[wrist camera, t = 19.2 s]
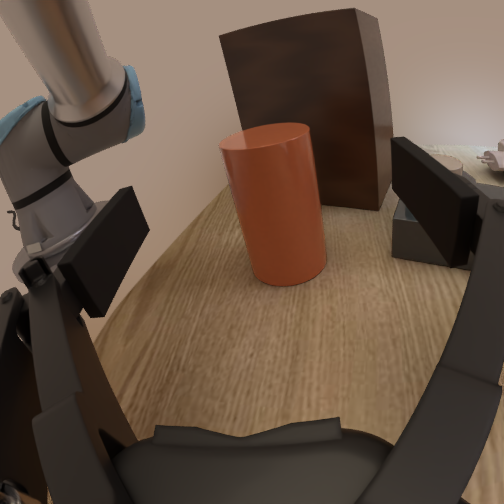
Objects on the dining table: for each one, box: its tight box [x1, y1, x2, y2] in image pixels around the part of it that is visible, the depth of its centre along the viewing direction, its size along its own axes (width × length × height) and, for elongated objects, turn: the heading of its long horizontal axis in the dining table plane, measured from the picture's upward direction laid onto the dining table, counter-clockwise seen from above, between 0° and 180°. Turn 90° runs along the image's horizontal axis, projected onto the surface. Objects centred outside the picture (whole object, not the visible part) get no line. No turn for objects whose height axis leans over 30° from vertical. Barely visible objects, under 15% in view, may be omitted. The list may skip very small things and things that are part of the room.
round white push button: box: [431, 154, 463, 176], centre depth 24 cm, size 4×4×2 cm
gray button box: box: [392, 171, 504, 270], centre depth 25 cm, size 12×10×6 cm
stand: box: [219, 8, 393, 211], centre depth 35 cm, size 16×12×22 cm
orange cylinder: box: [219, 123, 327, 286], centre depth 26 cm, size 7×7×12 cm
